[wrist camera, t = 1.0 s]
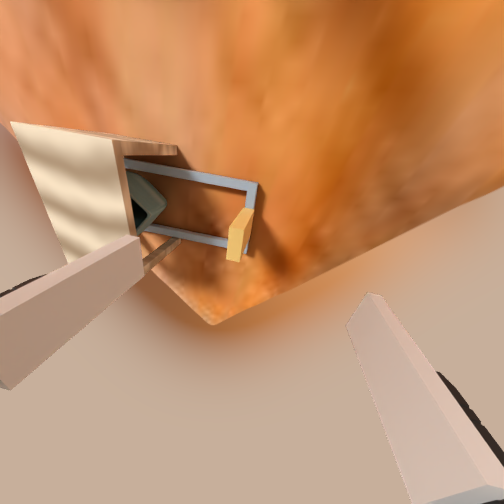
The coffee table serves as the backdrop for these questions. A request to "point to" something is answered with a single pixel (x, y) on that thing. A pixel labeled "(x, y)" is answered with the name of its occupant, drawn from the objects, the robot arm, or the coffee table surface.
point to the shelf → (87, 185)
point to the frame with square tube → (243, 221)
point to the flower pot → (144, 201)
